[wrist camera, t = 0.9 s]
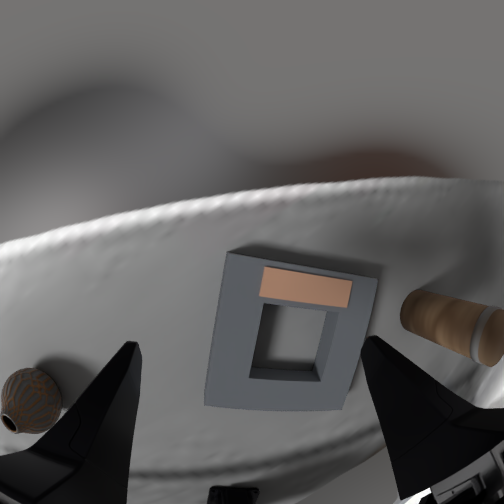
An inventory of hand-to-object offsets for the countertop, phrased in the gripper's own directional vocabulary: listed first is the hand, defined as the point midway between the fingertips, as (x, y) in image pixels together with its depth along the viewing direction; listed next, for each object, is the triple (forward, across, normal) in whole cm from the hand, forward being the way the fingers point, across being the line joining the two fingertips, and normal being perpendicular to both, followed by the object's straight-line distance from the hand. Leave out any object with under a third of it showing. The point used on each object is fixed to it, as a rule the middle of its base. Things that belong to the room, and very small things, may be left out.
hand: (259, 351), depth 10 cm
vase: (+8, +22, +18) cm, 29 cm away
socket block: (+11, -6, +11) cm, 17 cm away
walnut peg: (+12, -21, +10) cm, 26 cm away
